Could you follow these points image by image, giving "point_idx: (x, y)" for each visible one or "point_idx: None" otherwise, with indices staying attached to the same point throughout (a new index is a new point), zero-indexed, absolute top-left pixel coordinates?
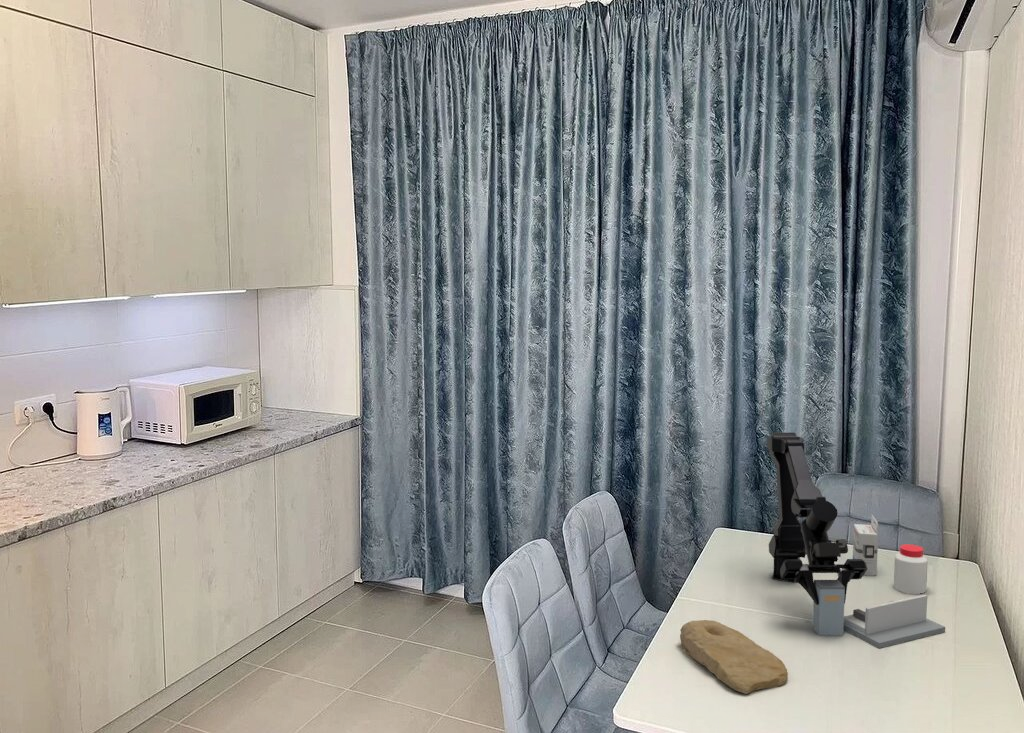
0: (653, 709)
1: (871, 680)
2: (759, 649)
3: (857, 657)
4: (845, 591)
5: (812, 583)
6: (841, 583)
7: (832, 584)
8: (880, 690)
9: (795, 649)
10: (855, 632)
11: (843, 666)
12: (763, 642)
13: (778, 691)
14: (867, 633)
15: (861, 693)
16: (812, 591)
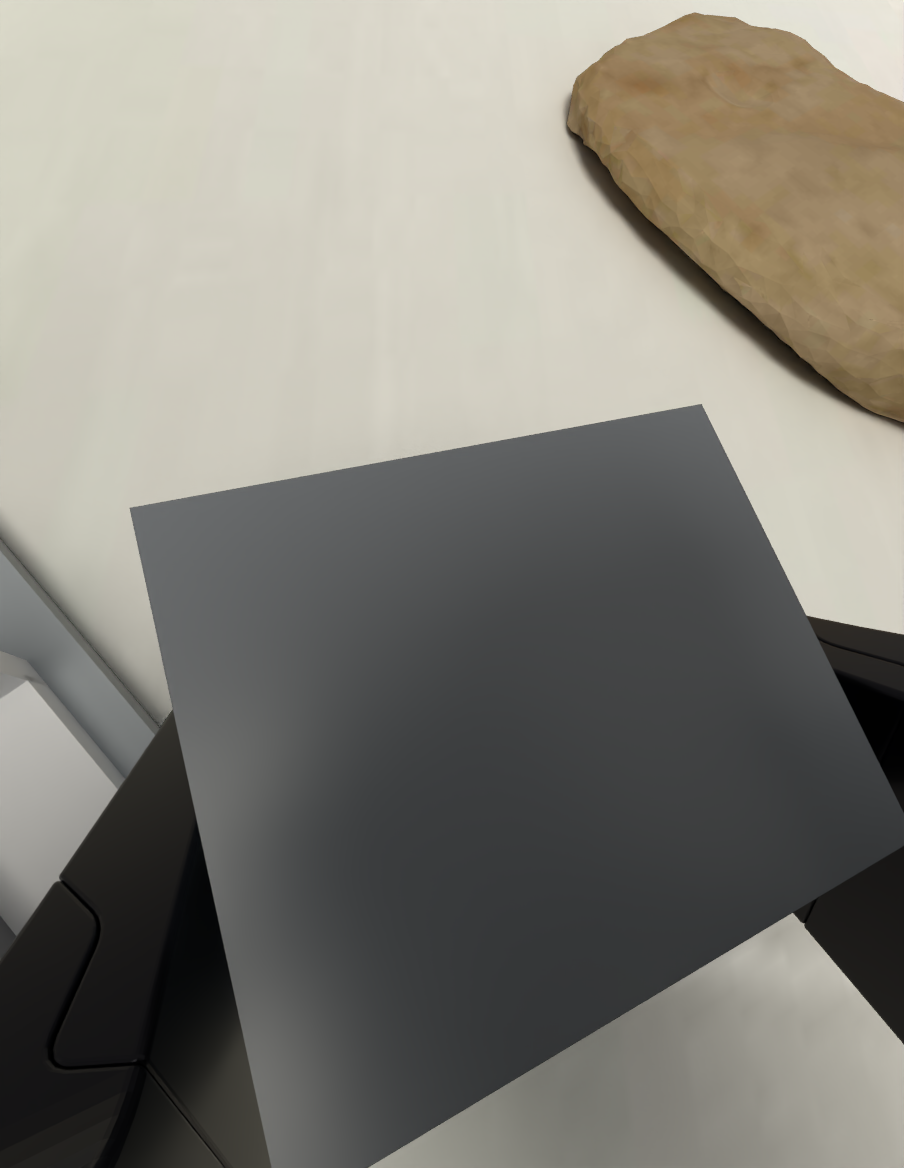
0: (868, 8)
1: (164, 120)
2: (749, 185)
3: (200, 355)
4: (124, 807)
5: (864, 660)
6: (179, 988)
7: (473, 631)
8: (135, 40)
9: (571, 403)
10: (141, 716)
11: (306, 246)
12: (735, 456)
13: (584, 61)
14: (21, 661)
15: (243, 26)
16: None
